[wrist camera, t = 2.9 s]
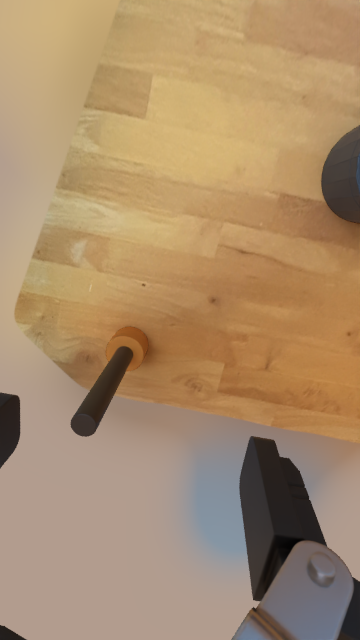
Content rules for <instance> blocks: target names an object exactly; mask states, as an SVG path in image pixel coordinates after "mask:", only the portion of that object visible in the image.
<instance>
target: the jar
mask: <svg viewBox="0 0 360 640" xmlns="http://www.w3.org/2000/svg"><path fill="white" fill-rule="evenodd" d="M321 182H322V191H323V195H324V198H325V200H326V202H327V204H328V206H329V207H330V208H331V210H332V211H333V212H334V213H335V214H337V215H338V216H339V217H341V218H343V219H345V220H348V221H351V222H357V223H360V125H359V126H357V127H356V128H354V129H353V130H352V131H350V132H349V133H347V134H346V135H344V136H343V137H342V138H341V139H340V140H339V141H338V142H337V143H336V144H335V146H334V147H333V148H332V150H331V151H330V153H329V155H328V157H327V159H326V161H325V164H324V167H323V172H322V181H321Z"/></svg>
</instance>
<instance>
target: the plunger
mask: <svg viewBox="0 0 360 640" xmlns="http://www.w3.org/2000/svg"><path fill="white" fill-rule="evenodd" d="M147 349H148V340H147V337H146V336H145V334H144V333H143V332H142V331H141V330H139V329H137V328H134V327H125V328H122V329H120V330H119V331H117V333H116V334H115V335H114V336H113V338H112V339H111V340H110V342H109V343H108V345H107V347H106V357H107V360H108V362H109V363H108V364H107V366H106V367H105V369H104V370H103V372H102V373H101V375H100V376H99V378H98V379H97V381H96V382H95V384H94V386H93V387H92V389H91V390H90V392H89V393H88V395H87V396H86V398H85V399H84V401H83V403H82V404H81V406H80V407H79V409H78V410H77V412H76V413H75V415H74V416H73V418H72V420H71V428H72V429H73V431H74V432H75V433H76V434H78V435H80V436H90V435H92V434H94V432H95V431H96V429H97V427H98V425H99V423H100V421H101V419H102V418H103V415H104V414H105V412H106V410H107V408H108V406H109V404H110V402H111V400H112V398H113V396H114V394H115V392H116V390H117V388H118V386H119V384H120V382H121V380H122V378H123V376H124V374H125V372H126V371H132V370H135V369H136V368H138V367H139V366H140V365H141V363H142V361H143V359H144V357H145V354H146V352H147Z"/></svg>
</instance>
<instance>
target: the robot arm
mask: <svg viewBox="0 0 360 640" xmlns="http://www.w3.org/2000/svg"><path fill="white" fill-rule="evenodd" d="M19 437H20V400H19V397H18V396H17V395H11V394H6V393H0V468H1V467H2V465H3V464H4V463H5V462H6V461H7V459H8V458H9V457H10V456H11V454H12V453H13V452H14V450H15V448H16V446H17V444H18V441H19ZM240 499H241V507H242V514H243V522H244V530H245V538H246V546H247V554H248V563H249V571H250V579H251V587H252V594H253V600H255V601H261V602H260V603H259V605H258V606H257V608H256V609H255V608H254V607H253V608H252V609H251V610H250V611H249V613H248V614H247V616H246V617H245V619H244V620H243V622H242V623H241V625H240V627H239V628H238V630H237V632H236V633H235V635H234V636H233V638H232V640H360V582H359V581H358V580H356V579H355V578H353V577H352V575H351V573H350V571H349V569H348V567H347V566H346V564H345V563H344V562H343V560H342V559H341V558H340V557H339V556H338V555H337V554H336V553H335V552H333V551H332V550H331V549H329V548H328V547H327V545H326V542H325V539H324V537H323V534H322V531H321V529H320V526H319V523H318V520H317V517H316V515H315V512H314V510H313V507H312V504H311V501H310V500H309V496H308V493H307V490H306V488H305V485H304V482H303V479H302V477H301V474H300V471H299V470H298V469H297V468H296V466H295V465H294V464H293V463H292V462H291V460H290V459H289V458H283V457H280V456H279V453H278V450H277V447H276V443H275V441H274V440H271V439H265V438H260V437H254V436H251V437H250V440H249V443H248V447H247V451H246V455H245V459H244V462H243V467H242V471H241V476H240ZM0 640H26V639H24V638H23V637H21V636H19V635H18V634H16V633H15V632H13V631H11V630H10V629H8V628H6V627H5V626H1V625H0Z"/></svg>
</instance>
